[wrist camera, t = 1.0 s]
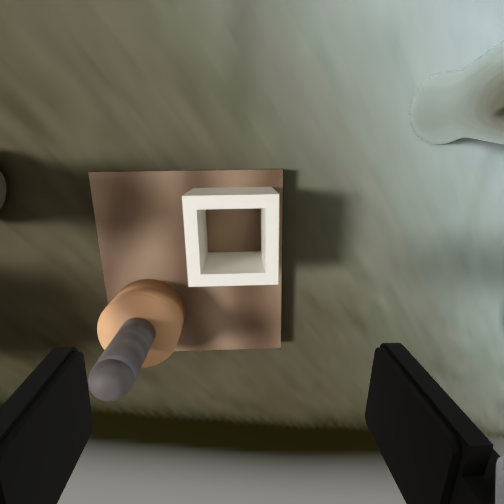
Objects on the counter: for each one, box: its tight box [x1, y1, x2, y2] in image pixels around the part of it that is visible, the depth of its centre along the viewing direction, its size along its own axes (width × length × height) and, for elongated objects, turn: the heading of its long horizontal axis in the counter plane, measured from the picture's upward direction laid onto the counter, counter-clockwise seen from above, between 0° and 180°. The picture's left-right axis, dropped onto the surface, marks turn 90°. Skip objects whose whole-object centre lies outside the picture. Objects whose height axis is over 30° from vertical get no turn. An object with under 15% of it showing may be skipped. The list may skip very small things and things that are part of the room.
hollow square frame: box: [182, 187, 279, 287], centre depth 27 cm, size 7×7×6 cm
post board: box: [88, 169, 283, 401], centre depth 27 cm, size 17×18×13 cm
